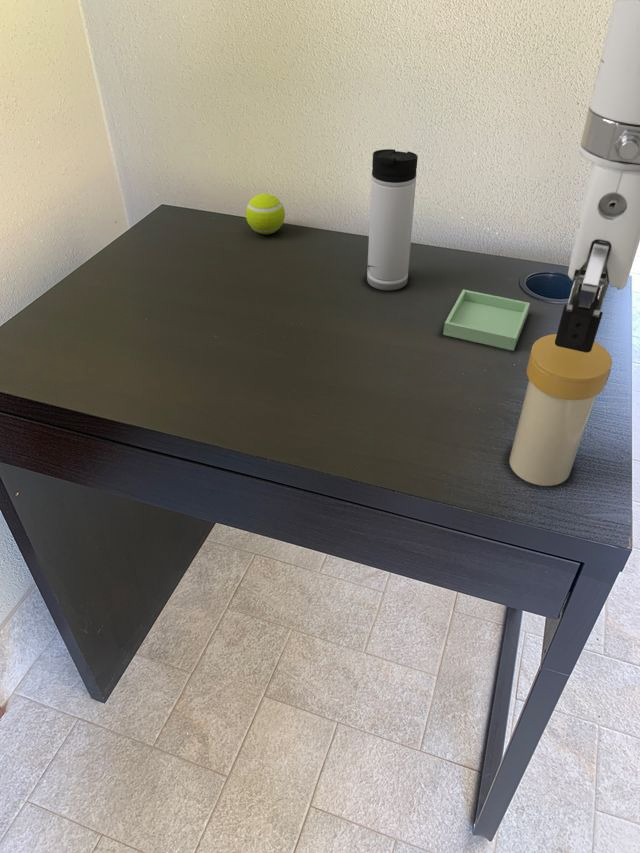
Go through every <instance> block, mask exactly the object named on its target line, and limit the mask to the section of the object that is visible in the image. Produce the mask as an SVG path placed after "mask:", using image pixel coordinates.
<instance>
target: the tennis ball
mask: <svg viewBox="0 0 640 853" xmlns="http://www.w3.org/2000/svg"><path fill="white" fill-rule="evenodd" d="M285 211H286V210H285V207H284V204H283V202H282V201H281V200H280V199H279V198H278V197H276V196H275V195H274V194H271V193H260V194H256V195H255V196H253V197H252V198H251V199H250V200H249V202H248V203H247V205H246V209H245V218H246V219H245V220H246V221H247V224H248V226H249V227H250V228H251V229H252V230H253V231H254V232H256V233H258V234H261V235H271V234H274V233H276V232H277V231H279V230H280V228H281V227H282V225H283V224H284V223H285V217H286V212H285Z"/></svg>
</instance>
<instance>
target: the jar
mask: <svg viewBox="0 0 640 853" xmlns="http://www.w3.org/2000/svg"><path fill="white" fill-rule="evenodd" d="M526 385H527V386H526V390H525V394H524V398H523V401H522V406H521V410H520V413H519V417H518V422H517V426H516V430H515V434H514V438H513V442H512V445H511V451H510V453H509V459H508V460H509V465H510V468H511V470H512V471H513V472H514V474H516V476H518V477H519V478H520V479H522V480H524V481H525V482H528V483H529V484H533V485H536V486H542V487H552V486H557V485H559V484H562V483H565V481H567V480H568V479H569V477H570V475H571V472H572V469H573V466H574V464H575V461H576V457H577V454H578V452H579V448H580V445H581V443H582V440H583V436H584V433H585V430H586V427H587V425H588V421H589V418H590V415H591V413H592V410H593V407H594V404H595V400H596V398H597V395H596V396H594V397H592V398H589V399H584V400H567V399H561V398H557V397H554V396H551V395H548V394H546V393H544V392H542V391H541V390H539V389H538V388H536V387H535V386H534V385H533V384H532V383H531V382H530V380H529V379H528V382H527V384H526Z"/></svg>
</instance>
